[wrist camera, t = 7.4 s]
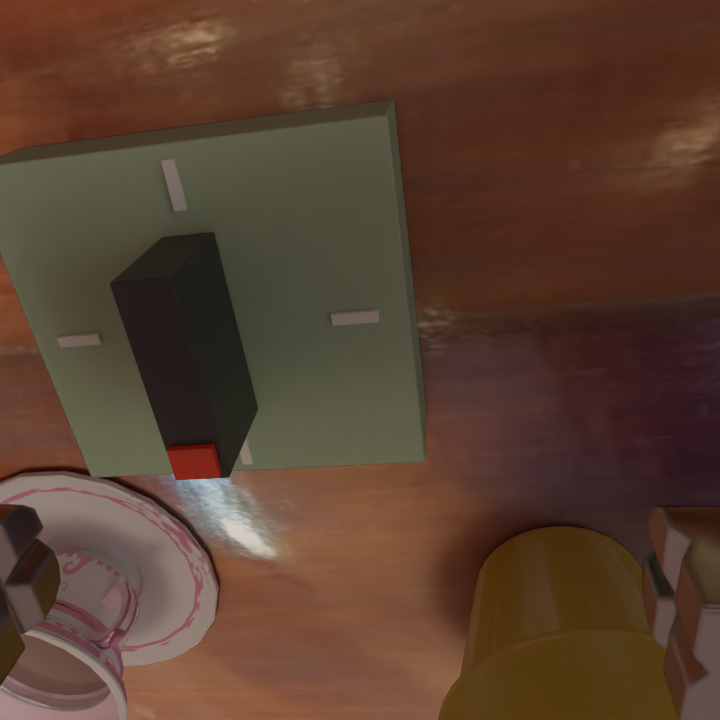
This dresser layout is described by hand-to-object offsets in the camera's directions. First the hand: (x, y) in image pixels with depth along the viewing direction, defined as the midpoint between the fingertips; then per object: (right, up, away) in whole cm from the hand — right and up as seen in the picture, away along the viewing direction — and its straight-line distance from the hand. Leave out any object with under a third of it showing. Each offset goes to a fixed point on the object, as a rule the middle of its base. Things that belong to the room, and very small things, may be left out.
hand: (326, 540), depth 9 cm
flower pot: (+9, -7, +19) cm, 22 cm away
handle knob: (-4, +3, +11) cm, 13 cm away
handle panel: (-4, +5, +14) cm, 15 cm away
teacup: (-12, -7, +22) cm, 26 cm away
